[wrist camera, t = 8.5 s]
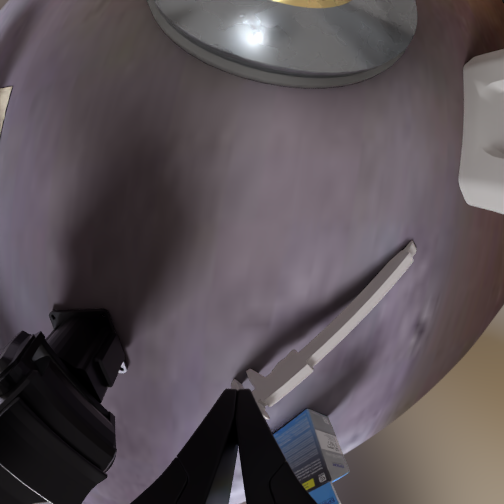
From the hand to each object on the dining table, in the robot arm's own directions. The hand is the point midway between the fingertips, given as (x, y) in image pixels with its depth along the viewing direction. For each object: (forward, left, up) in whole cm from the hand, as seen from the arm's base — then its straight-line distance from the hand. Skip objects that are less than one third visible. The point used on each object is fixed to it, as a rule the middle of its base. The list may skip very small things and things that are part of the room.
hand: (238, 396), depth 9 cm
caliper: (+8, -5, -13) cm, 16 cm away
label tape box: (+4, -20, -13) cm, 25 cm away
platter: (+6, +25, -11) cm, 28 cm away
